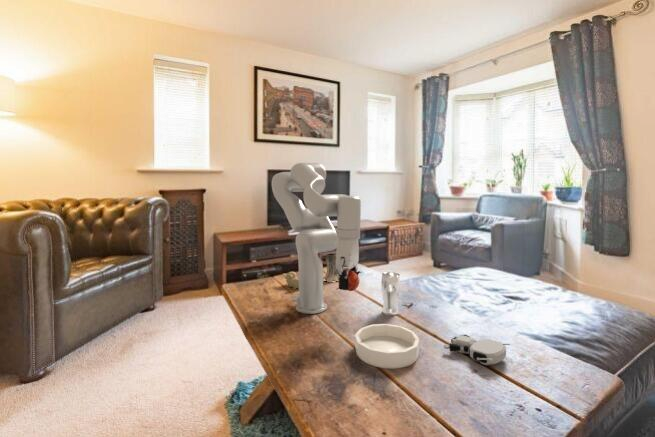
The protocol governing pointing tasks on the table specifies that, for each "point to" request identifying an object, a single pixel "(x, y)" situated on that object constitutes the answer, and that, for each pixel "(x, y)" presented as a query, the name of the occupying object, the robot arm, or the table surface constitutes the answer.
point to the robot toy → (479, 349)
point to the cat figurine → (292, 279)
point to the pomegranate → (352, 280)
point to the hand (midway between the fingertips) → (348, 285)
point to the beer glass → (390, 292)
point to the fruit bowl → (387, 346)
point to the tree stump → (331, 268)
